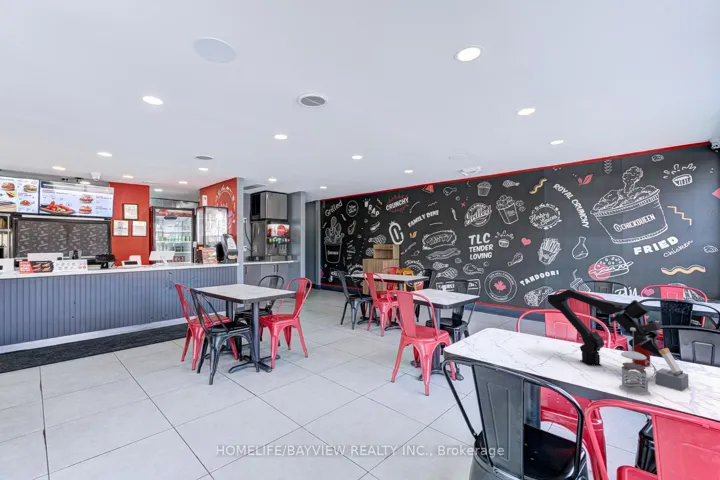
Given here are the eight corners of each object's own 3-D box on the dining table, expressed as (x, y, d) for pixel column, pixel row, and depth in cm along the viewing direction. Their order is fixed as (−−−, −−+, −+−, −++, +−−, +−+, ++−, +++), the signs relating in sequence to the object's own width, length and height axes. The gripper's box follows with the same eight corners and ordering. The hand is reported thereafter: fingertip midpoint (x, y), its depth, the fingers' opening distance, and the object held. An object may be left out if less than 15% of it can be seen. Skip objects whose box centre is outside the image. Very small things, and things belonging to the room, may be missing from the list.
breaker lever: (674, 375, 131) (658, 350, 136) (678, 373, 134) (662, 348, 139) (679, 374, 130) (663, 349, 134) (683, 372, 133) (667, 347, 137)
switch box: (655, 384, 135) (655, 369, 135) (662, 379, 140) (662, 365, 140) (681, 391, 128) (681, 375, 128) (688, 386, 133) (688, 371, 133)
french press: (616, 383, 136) (615, 323, 136) (652, 389, 130) (651, 327, 131) (621, 391, 127) (619, 328, 128) (660, 398, 121) (658, 332, 122)
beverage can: (643, 362, 162) (642, 338, 162) (654, 367, 155) (653, 342, 156) (628, 361, 163) (628, 338, 163) (639, 366, 156) (638, 341, 156)
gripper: (637, 316, 137) (673, 349, 127) (652, 312, 147) (687, 342, 137) (615, 331, 143) (648, 363, 133) (631, 326, 153) (663, 356, 143)
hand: (662, 356), depth 137 cm, fingers closed
